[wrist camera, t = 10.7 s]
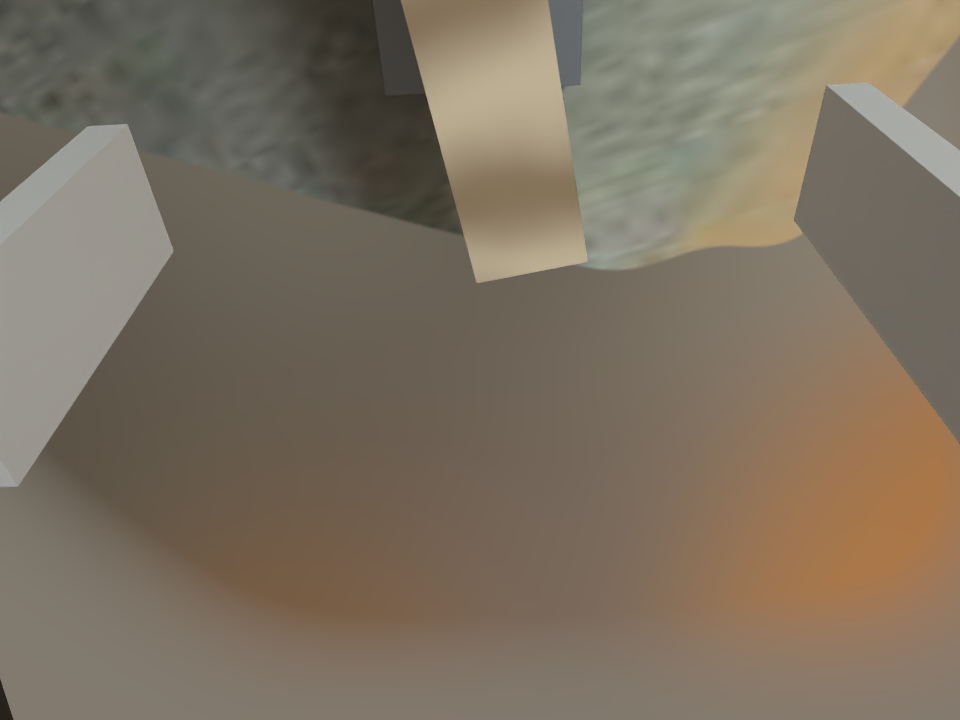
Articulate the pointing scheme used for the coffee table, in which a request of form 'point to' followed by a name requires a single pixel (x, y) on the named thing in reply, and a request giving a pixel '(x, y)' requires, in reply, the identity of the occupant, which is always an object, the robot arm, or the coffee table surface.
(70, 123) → the coffee table surface
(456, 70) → the beam
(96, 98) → the coffee table surface
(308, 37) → the coffee table surface
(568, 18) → the fulcrum
